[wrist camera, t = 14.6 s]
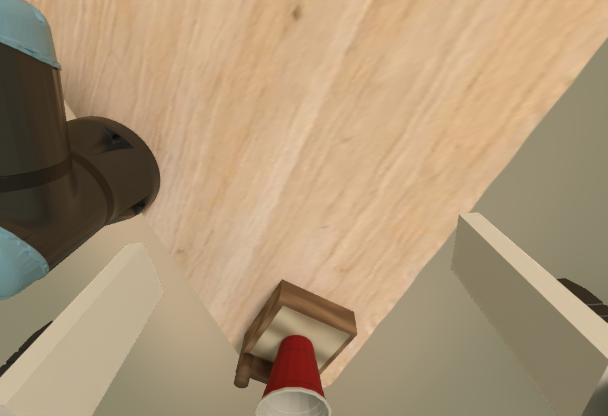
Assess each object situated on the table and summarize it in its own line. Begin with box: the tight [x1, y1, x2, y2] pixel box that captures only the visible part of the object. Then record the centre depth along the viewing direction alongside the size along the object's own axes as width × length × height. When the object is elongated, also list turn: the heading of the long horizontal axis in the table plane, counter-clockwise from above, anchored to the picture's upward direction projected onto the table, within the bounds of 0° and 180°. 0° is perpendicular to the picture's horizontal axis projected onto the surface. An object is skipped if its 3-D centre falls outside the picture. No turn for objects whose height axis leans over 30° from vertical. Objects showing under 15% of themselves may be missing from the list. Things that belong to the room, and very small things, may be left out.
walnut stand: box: [234, 280, 357, 388], centre depth 53 cm, size 16×15×10 cm
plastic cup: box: [255, 335, 331, 416], centre depth 47 cm, size 11×11×12 cm
